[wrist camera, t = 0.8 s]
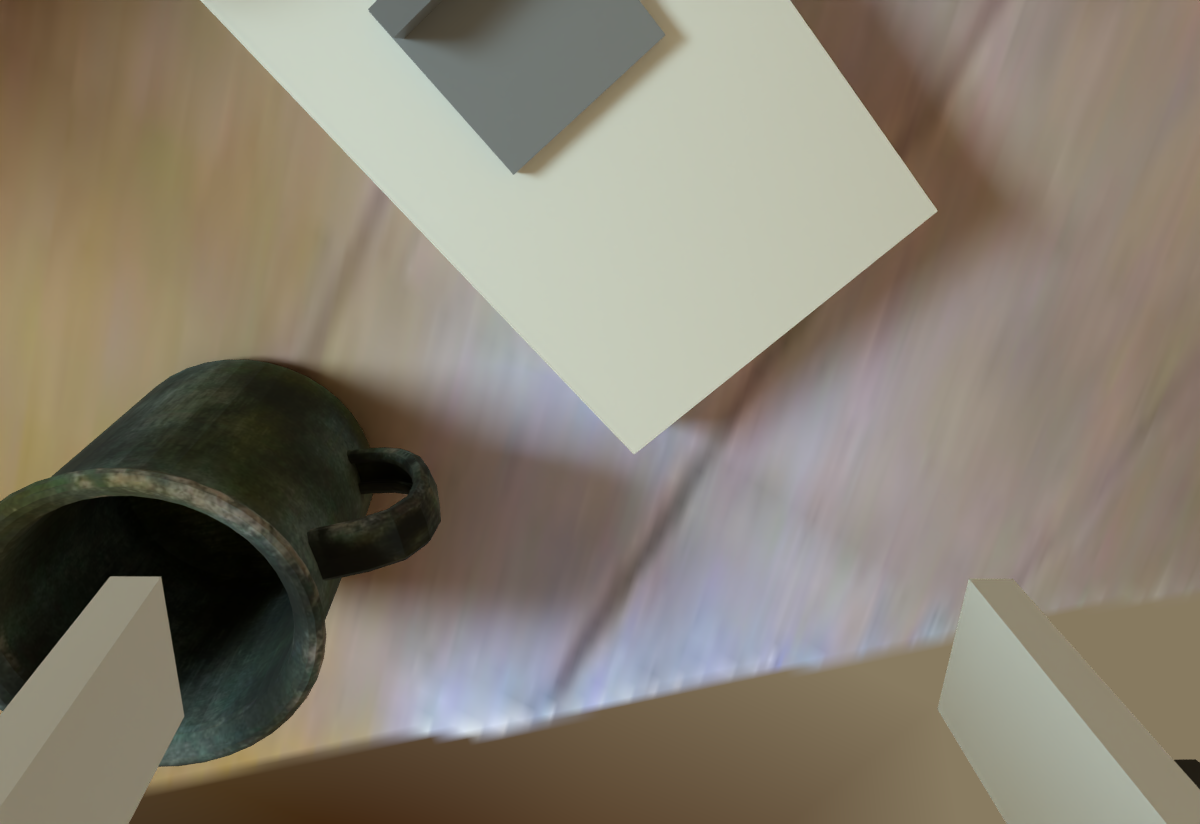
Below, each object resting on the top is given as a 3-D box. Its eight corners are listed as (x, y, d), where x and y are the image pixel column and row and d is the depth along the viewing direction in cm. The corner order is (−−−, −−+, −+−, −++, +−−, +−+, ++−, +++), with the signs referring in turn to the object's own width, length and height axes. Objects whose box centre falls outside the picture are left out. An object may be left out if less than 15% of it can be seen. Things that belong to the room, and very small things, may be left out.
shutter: (371, 11, 28) (355, 8, 25) (525, -145, 26) (523, -165, 24) (514, 172, 30) (511, 183, 27) (663, 35, 28) (674, 33, 26)
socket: (221, -19, 31) (171, -30, 27) (514, -336, 28) (508, -403, 24) (624, 410, 38) (633, 454, 34) (891, 192, 35) (937, 211, 31)
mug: (75, 376, 36) (-131, 519, 25) (421, 299, 36) (365, 410, 25) (178, 594, 40) (39, 800, 29) (489, 527, 40) (467, 710, 29)
